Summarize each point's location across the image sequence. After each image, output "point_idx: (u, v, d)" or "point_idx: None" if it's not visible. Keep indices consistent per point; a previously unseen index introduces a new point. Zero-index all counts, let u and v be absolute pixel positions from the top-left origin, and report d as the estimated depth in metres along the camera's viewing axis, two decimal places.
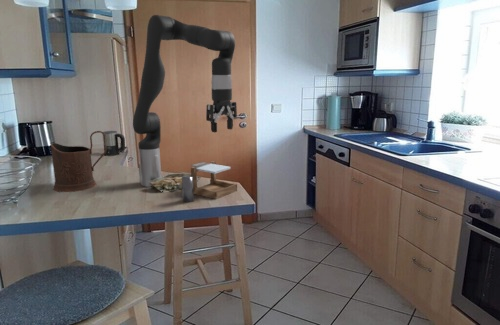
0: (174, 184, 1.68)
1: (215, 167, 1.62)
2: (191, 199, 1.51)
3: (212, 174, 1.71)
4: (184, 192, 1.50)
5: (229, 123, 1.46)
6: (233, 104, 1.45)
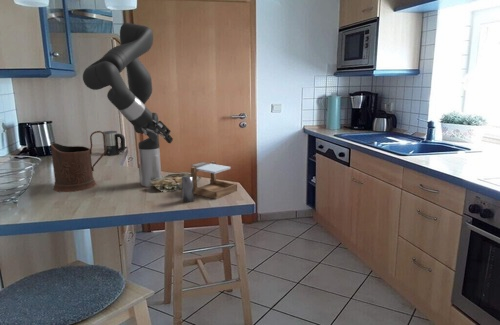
0: (174, 184, 1.68)
1: (215, 167, 1.62)
2: (191, 199, 1.51)
3: (212, 174, 1.71)
4: (184, 192, 1.50)
5: None
6: None
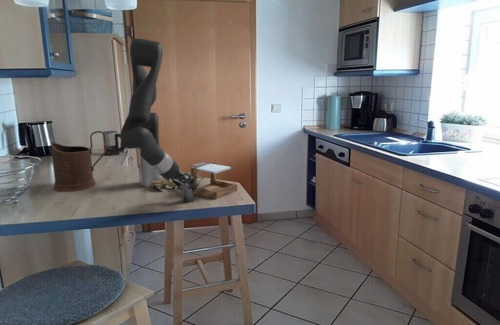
0: None
1: (215, 167, 1.62)
2: (191, 199, 1.51)
3: (212, 174, 1.71)
4: (184, 192, 1.50)
5: None
6: None
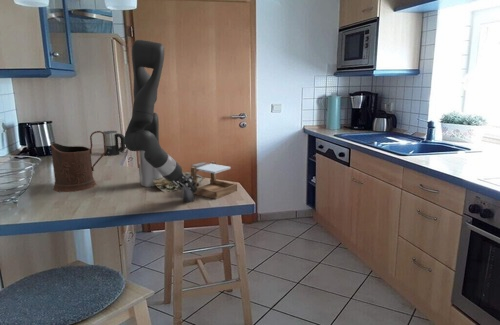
0: (176, 184, 1.69)
1: (215, 167, 1.62)
2: (191, 199, 1.51)
3: (212, 174, 1.71)
4: (184, 192, 1.50)
5: None
6: None
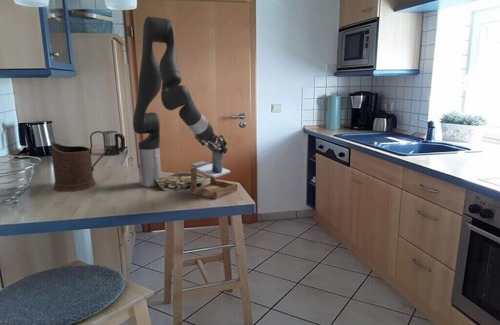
0: (178, 183, 1.70)
1: None
2: (220, 170, 1.59)
3: None
4: (214, 163, 1.58)
5: None
6: None
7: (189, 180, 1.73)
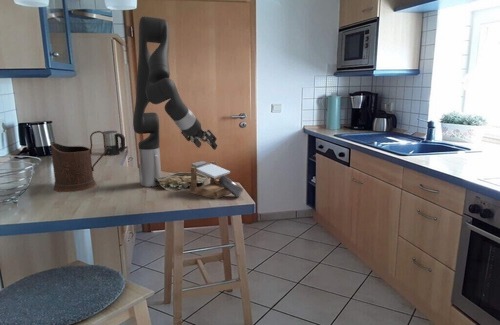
0: (180, 183, 1.70)
1: (215, 170, 1.62)
2: None
3: None
4: (225, 187, 1.56)
5: None
6: None
7: None
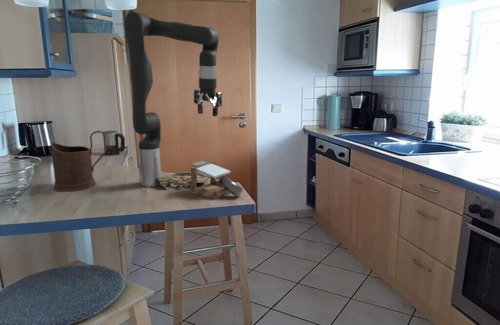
0: (181, 182, 1.71)
1: (215, 169, 1.62)
2: None
3: None
4: (225, 187, 1.56)
5: None
6: None
7: None
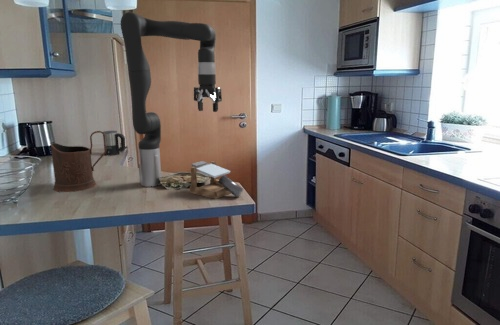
0: (181, 182, 1.71)
1: (215, 169, 1.62)
2: None
3: None
4: (225, 187, 1.56)
5: None
6: None
7: None
